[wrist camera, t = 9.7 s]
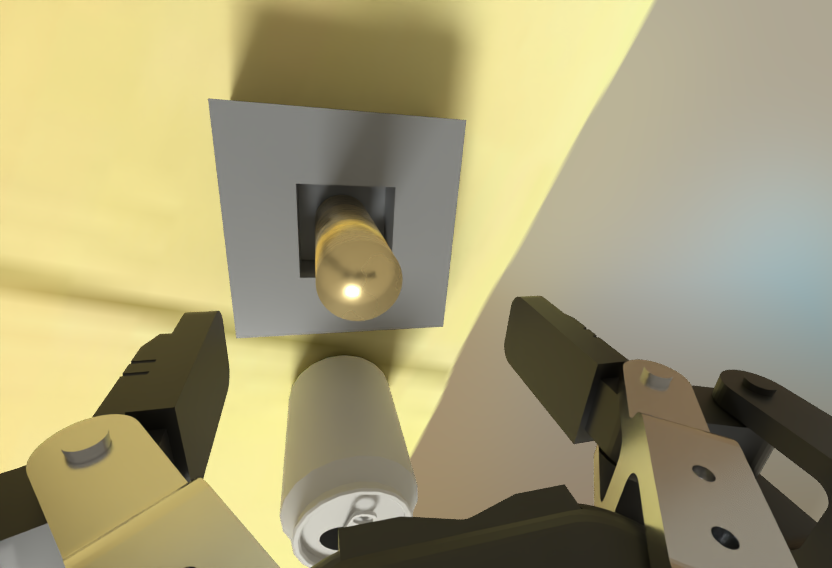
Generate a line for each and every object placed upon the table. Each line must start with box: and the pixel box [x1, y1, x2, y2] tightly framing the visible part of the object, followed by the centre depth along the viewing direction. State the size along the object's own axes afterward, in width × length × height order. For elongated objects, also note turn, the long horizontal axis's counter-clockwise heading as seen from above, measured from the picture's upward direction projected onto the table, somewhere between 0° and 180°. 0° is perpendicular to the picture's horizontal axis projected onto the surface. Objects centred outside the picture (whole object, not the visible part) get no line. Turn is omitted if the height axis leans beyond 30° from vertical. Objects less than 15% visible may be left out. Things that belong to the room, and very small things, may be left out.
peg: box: [315, 195, 403, 321], centre depth 19 cm, size 3×3×10 cm
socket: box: [208, 99, 466, 338], centre depth 23 cm, size 12×12×5 cm
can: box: [280, 355, 418, 568], centre depth 25 cm, size 8×8×12 cm
